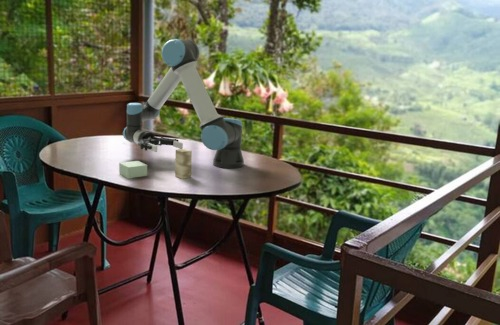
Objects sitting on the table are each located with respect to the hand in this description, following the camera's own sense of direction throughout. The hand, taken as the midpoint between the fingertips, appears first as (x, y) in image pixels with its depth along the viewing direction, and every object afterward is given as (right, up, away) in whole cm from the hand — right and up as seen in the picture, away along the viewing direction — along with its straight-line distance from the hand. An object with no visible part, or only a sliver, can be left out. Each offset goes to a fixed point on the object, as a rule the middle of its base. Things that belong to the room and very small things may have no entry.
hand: (169, 147), depth 231 cm
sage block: (-15, -12, -5) cm, 20 cm away
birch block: (+7, -13, -5) cm, 15 cm away
